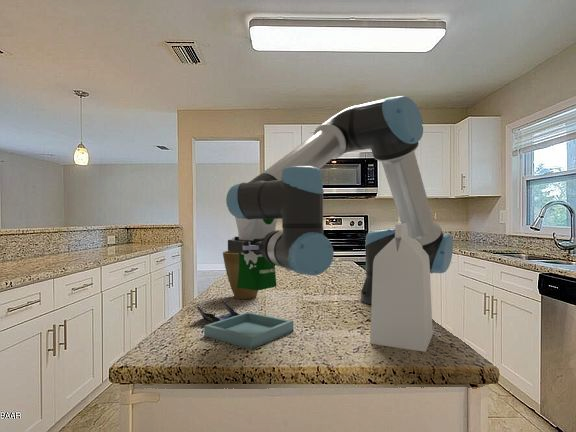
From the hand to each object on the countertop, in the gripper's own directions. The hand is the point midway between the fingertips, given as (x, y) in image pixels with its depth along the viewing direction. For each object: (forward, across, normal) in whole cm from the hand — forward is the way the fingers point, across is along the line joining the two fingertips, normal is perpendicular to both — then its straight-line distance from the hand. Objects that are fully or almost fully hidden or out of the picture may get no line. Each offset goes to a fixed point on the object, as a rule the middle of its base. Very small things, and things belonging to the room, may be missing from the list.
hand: (251, 242), depth 99 cm
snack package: (+5, -7, -22) cm, 23 cm away
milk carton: (-5, 0, -11) cm, 12 cm away
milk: (-26, +27, -21) cm, 44 cm away
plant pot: (+31, +7, -21) cm, 39 cm away
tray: (-8, -3, -21) cm, 23 cm away
